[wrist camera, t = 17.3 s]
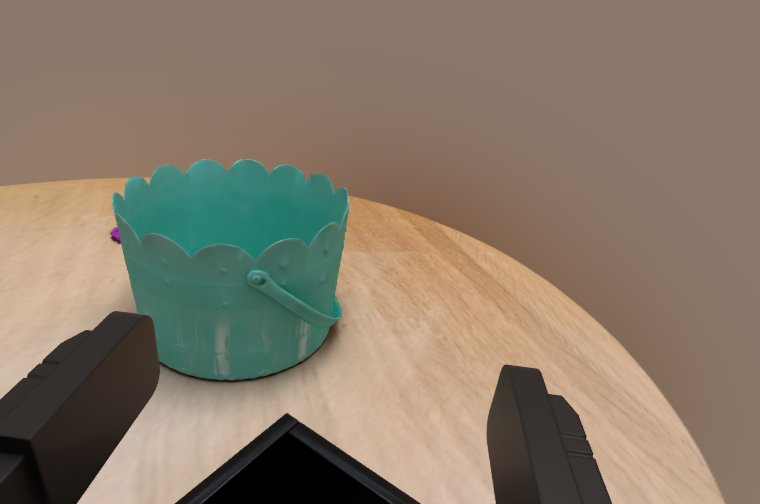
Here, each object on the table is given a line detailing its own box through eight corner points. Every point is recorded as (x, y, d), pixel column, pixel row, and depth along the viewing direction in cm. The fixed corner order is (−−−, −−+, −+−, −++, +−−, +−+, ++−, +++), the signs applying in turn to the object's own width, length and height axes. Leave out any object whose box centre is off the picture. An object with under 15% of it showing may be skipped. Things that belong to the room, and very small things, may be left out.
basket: (172, 264, 53) (161, 148, 47) (339, 274, 55) (349, 164, 49) (94, 390, 36) (61, 233, 30) (341, 396, 38) (355, 251, 32)
